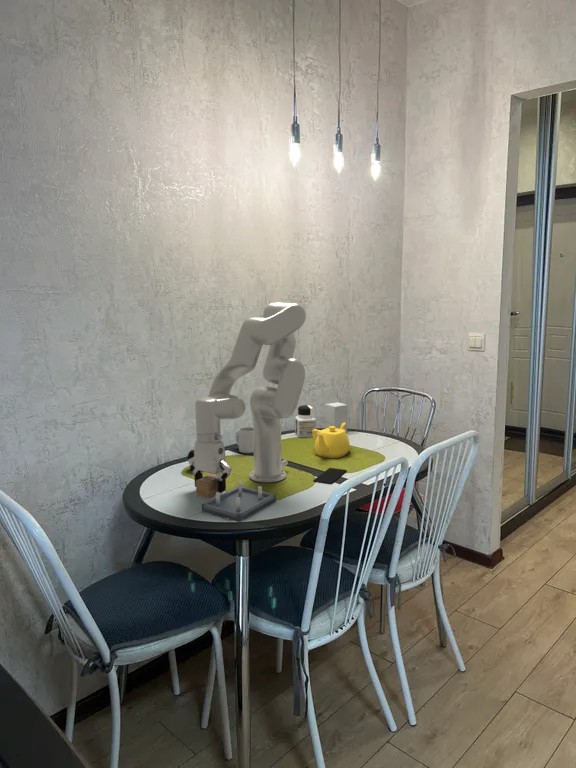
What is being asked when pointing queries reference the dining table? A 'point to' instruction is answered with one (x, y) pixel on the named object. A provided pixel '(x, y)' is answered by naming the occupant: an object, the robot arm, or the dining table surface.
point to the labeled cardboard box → (207, 486)
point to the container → (305, 421)
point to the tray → (238, 503)
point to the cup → (245, 440)
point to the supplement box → (336, 415)
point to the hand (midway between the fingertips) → (210, 488)
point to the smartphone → (330, 476)
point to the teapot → (331, 442)
